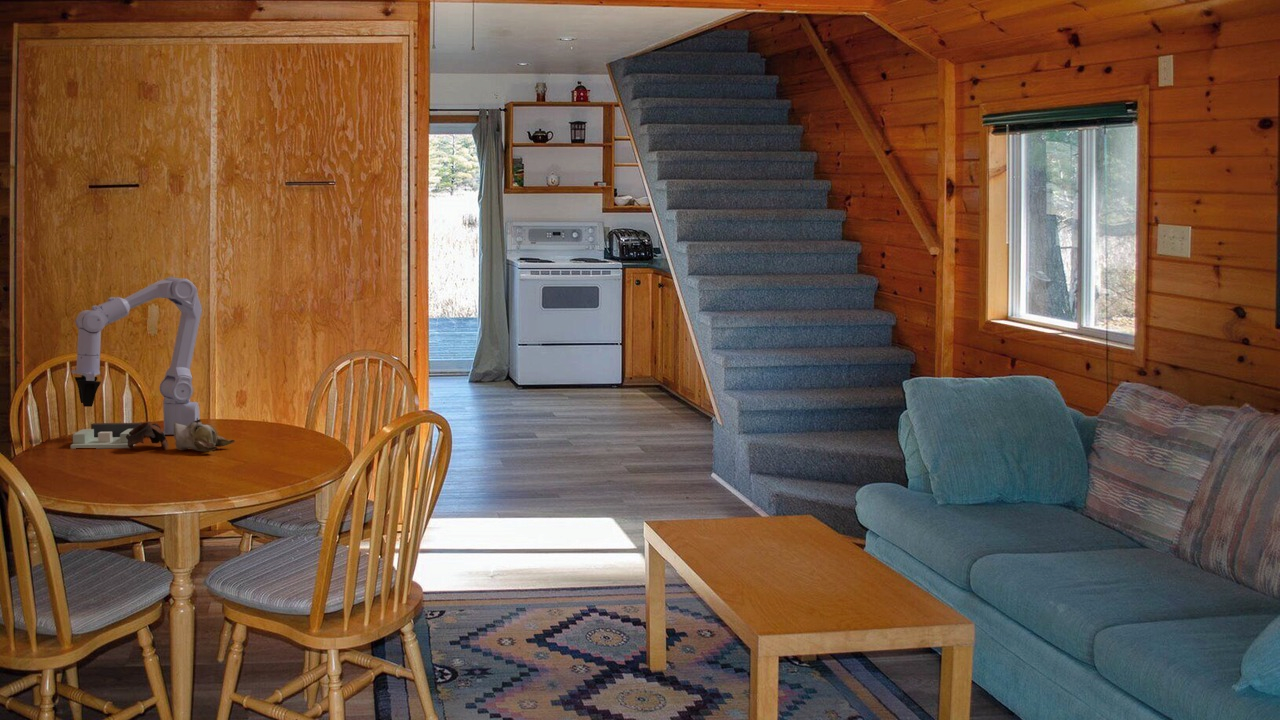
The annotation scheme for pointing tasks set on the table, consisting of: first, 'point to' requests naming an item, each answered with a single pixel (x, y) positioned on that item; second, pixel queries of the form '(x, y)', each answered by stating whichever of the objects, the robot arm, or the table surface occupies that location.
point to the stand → (99, 439)
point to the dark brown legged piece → (147, 434)
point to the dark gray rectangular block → (112, 428)
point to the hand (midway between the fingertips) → (86, 404)
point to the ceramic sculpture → (198, 437)
